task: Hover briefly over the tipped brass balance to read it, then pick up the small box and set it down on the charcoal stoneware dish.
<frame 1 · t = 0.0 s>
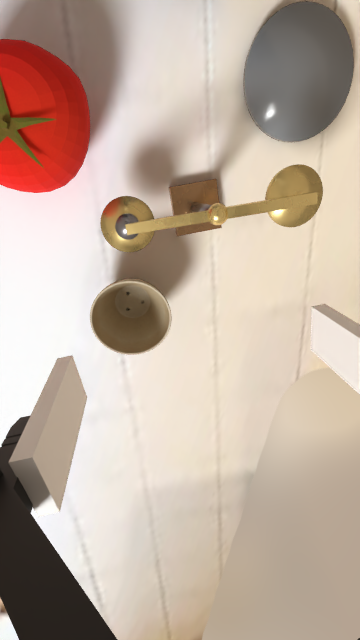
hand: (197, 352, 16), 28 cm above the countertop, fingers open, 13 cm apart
flower pot: (132, 300, 44), on the countertop
balance: (194, 207, 40), on the countertop
tomato: (37, 135, 35), on the countertop
dish: (294, 80, 36), on the countertop
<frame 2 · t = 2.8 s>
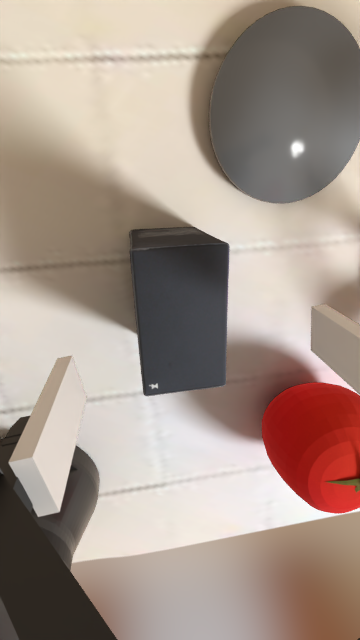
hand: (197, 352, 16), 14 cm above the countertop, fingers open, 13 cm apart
small box: (167, 283, 29), on the countertop
tomato: (295, 407, 38), on the countertop
dish: (283, 118, 25), on the countertop
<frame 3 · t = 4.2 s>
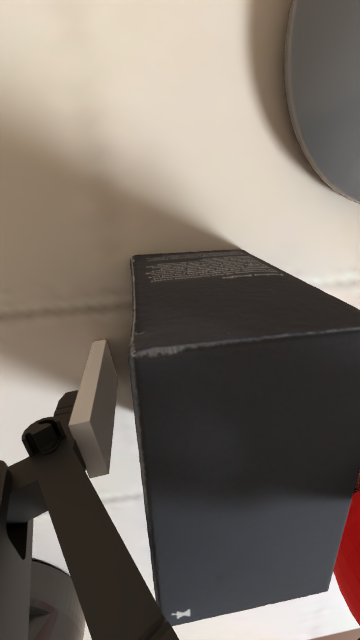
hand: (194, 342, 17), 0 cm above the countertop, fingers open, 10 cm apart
small box: (192, 339, 18), on the countertop
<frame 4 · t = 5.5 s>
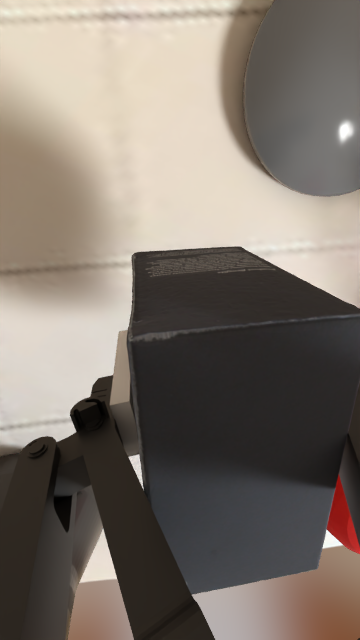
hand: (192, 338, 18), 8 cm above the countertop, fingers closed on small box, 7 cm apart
small box: (191, 333, 19), point 7 cm above the countertop, touching gripper
tomato: (326, 428, 34), on the countertop
dish: (334, 92, 21), on the countertop
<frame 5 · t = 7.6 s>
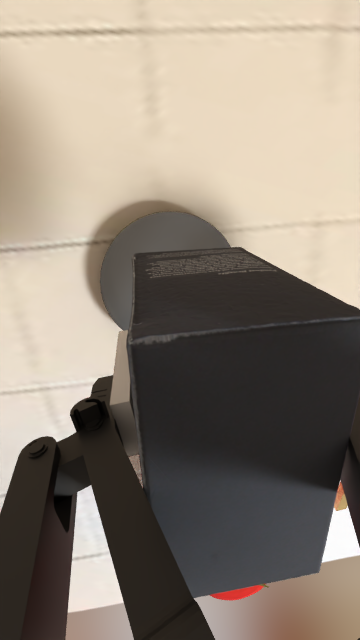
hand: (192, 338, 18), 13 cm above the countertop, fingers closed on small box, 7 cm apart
small box: (192, 334, 18), point 12 cm above the countertop, touching gripper
tomato: (214, 489, 42), on the countertop
dish: (169, 281, 30), on the countertop
when the fingers open (2 cm above the countertop, at t = 9.7 s): small box stays where it is, resting on dish.
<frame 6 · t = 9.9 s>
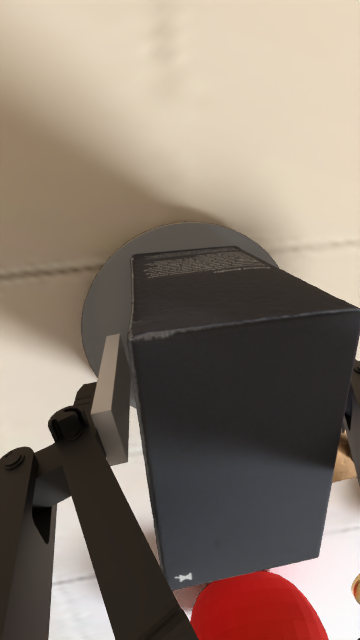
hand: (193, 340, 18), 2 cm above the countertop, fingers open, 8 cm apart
balance: (347, 441, 26), on the countertop
small box: (191, 332, 19), point 1 cm above the countertop, touching dish
tomato: (238, 578, 33), on the countertop
dish: (187, 324, 20), on the countertop
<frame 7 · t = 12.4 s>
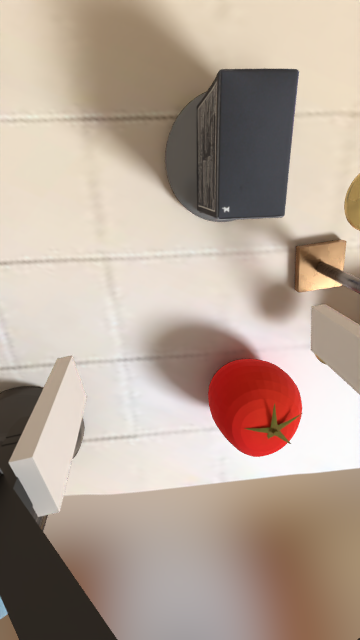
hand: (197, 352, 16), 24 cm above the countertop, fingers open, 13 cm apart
balance: (317, 265, 41), on the countertop
small box: (224, 160, 33), point 1 cm above the countertop, touching dish
tomato: (241, 380, 48), on the countertop
dish: (222, 160, 34), on the countertop
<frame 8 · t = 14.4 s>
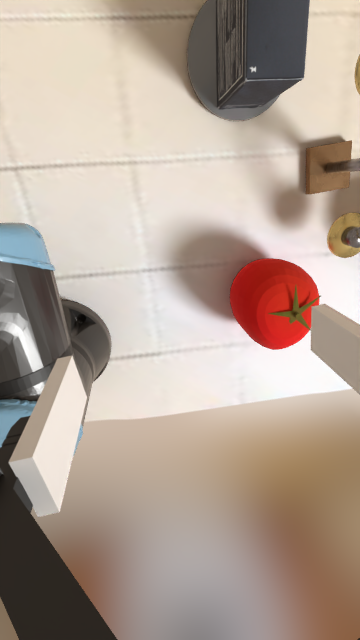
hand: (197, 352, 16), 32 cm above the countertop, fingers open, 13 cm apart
balance: (325, 168, 44), on the countertop
small box: (241, 57, 37), point 1 cm above the countertop, touching dish
tomato: (258, 292, 51), on the countertop
dish: (237, 60, 38), on the countertop
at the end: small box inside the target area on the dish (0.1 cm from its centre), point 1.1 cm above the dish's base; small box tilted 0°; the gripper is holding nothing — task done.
